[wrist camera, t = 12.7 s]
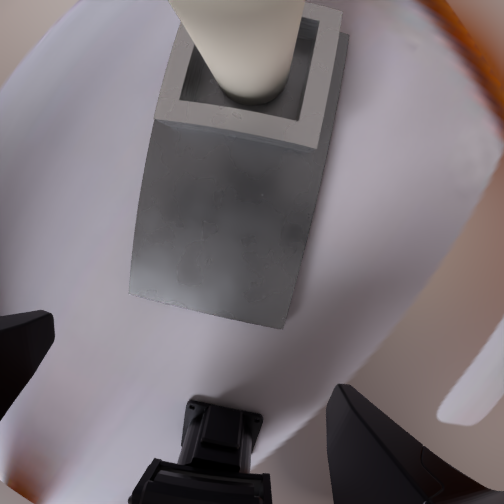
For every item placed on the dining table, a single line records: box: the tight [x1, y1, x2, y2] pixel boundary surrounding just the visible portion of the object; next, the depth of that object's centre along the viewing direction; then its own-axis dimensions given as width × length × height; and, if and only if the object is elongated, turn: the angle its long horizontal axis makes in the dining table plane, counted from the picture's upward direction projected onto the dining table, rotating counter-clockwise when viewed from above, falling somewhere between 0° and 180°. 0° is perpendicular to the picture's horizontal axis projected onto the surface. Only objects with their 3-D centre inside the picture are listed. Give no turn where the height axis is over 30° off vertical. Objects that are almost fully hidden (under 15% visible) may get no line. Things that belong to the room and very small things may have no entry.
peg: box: [168, 0, 305, 105], centre depth 11 cm, size 4×4×12 cm
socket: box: [129, 2, 349, 330], centre depth 18 cm, size 20×11×4 cm, turn 168°
